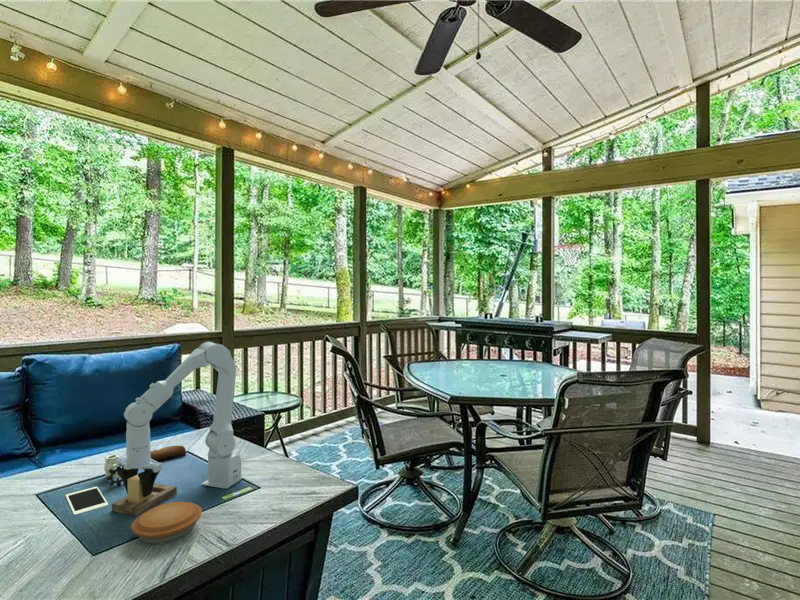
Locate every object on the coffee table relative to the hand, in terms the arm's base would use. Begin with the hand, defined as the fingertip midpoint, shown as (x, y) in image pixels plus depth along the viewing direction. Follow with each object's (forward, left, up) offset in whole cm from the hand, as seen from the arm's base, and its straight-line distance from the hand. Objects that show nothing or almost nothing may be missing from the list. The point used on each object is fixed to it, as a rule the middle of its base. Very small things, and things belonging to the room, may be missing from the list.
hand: (139, 494), depth 119 cm
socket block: (0, -2, -3) cm, 4 cm away
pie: (-18, +8, -4) cm, 20 cm away
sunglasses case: (+24, -28, -4) cm, 37 cm away
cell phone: (+18, +2, -4) cm, 18 cm away
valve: (+22, -10, -4) cm, 25 cm away
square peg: (0, 0, -3) cm, 3 cm away
